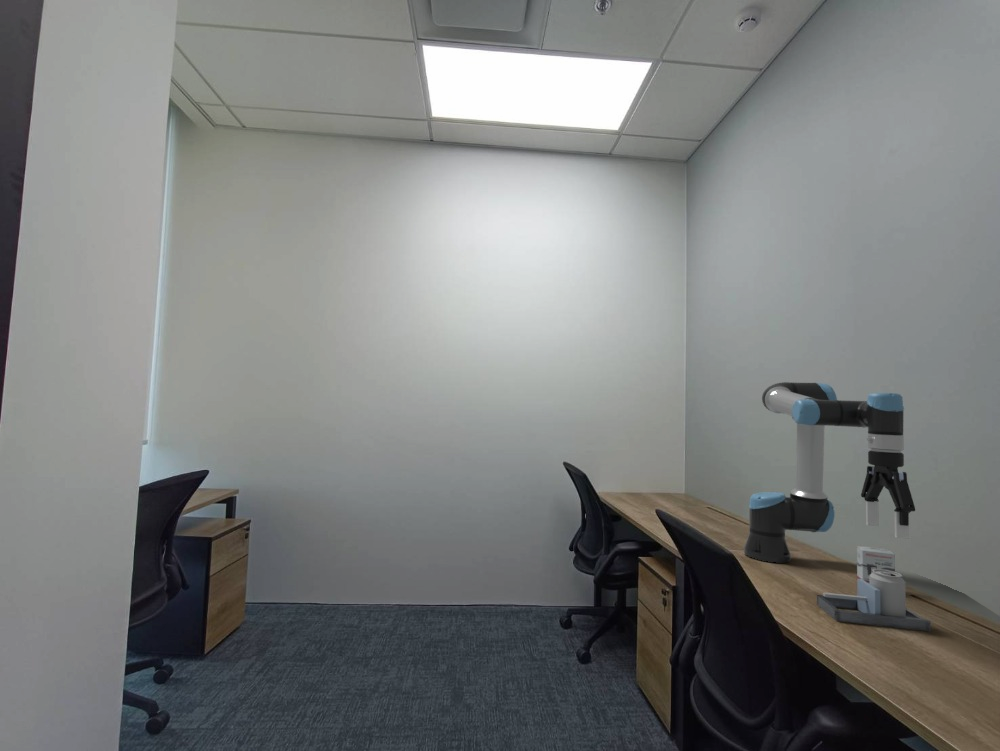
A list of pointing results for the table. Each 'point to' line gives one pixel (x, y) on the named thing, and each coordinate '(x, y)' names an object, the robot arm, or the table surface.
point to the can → (890, 592)
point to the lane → (870, 615)
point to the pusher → (863, 597)
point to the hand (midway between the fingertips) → (886, 531)
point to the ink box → (873, 561)
